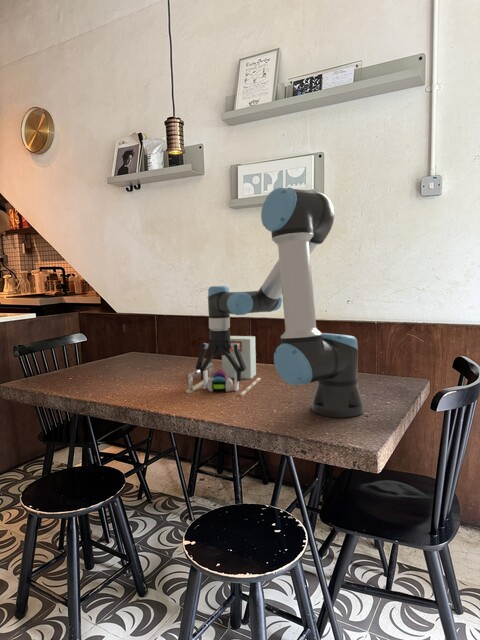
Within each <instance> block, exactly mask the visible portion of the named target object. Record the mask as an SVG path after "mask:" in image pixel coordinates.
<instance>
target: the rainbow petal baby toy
mask: <svg viewBox="0 0 480 640" xmlns="http://www.w3.org/2000/svg"><path fill="white" fill-rule="evenodd" d="M233 384H234V383H233V380H232V378H227V376H226V373H225V372H224V371H222V369H218V370H216V371H215V373H213V378H212V379H211V380H210V381H209V382H208V384H207V390H208V391H209V392H211V393H213V392H214V389H215V390H223V389H225V392H226V393H227V392H230V391H231V390H232V387H233Z"/></svg>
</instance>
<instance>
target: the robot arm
mask: <svg viewBox="0 0 480 640" xmlns="http://www.w3.org/2000/svg"><path fill="white" fill-rule="evenodd" d="M260 218H261V219H260V220H261V224H262V226H263V227H264V229H266V230H267V231H269V232H270V233H271V241H272V242H274V243H275V244H276V246H277V249H278V260H277V261H276V263H275V265H274V266H273V268H272V269H271V270H270V272H269V274H268V275H267V277H266V279H264V282H263V284H262V285H261V286H260V288H259V289H258V290H250V291H230V288H229V286H227V285H214V286H209V287H208V289H207V290H208V291H207V303H208V304H207V306H208V307H207V308H208V329H209V331H208V334H209V335H208V336H209V338H208V339H209V342H208V343H206V342H203V343H201V345H200V346H201V347H200V352H199V355H198V358H197V361H196V365H195V370H198V369H199V370H200V371H201V373H200V379H201V381H203V390H206V389H207V390H208V388H207V384H208V383H209V382H208V377H209V369H206V368H207V366H208V364H210V363H211V361H212V359H213V358H214V356H222V355H223V356H224V355H225V356H226V357H227V358H228V360H229V361H230V363H231V364H232V366H233V367H234V369H235V370H236V372H235V373H234V378H233V379H234V392H238V391H239V390H240V382H241V381H242V378H241V372H242V371H244V370H246V366H245V363H244V361H243V358H242V355H241V353H240V350H239V344H238V343H237V344H231V342H230V336H231V330H230V328H231V317H230V316H231V315H235V316H245V315H247V314H254V313H256V314H257V313H271V312H275V311H278V310H279V309H281V307H282V306H283V307H282V308H283V316H284V327H285V328H284V329H285V331H284V332H283V334H281V335H280V343H281V344H280V345H278V346H277V347H276V349H275V351H274V353H273V364H274V367H275V370H276V372H277V374H278V376H279V377H280V378H281V379H282V381H284V382H285V383H287V384H289V385H292V386H301V385H303V386H305V385H308V384H310V383H315V382H317V386H316V389H315V391H314V396H313V399H312V401H311V410H312V412H314V413H315V414H318V415H320V416H325V417H331V418H351V417H357V416H360V415H362V414H363V413H364V407H365V406H364V401H363V398H362V395H361V392H360V389H359V385H358V384H359V383H358V377H359V376H358V373H359V372H358V367H359V366H358V363H359V362H358V360H359V357H358V356H359V354H358V353H359V347H358V339H357V338H356V337H355V336H353V335H349V334H338V333H327V332H321V331H320V330H319V329H318V328H317V319H316V309H315V298H314V286H313V285H314V284H313V276H312V275H313V273H312V266H311V265H312V263H311V254H312V253H313V251H314V249H315V248H316V247H317V245H321V244H323V243H324V241H325V240H326V238H327V237H328V235H329V233H331V230H332V228H333V225H334V220H335V211H334V205H333V204H332V201H331V199H330V198H329V197H327V196H326V194H324V193H322V192H320V191H314V190H312V191H311V190H305V189H296V188H292V187H278V188H274V189H273V190H272V191H270V193H268V195H267V196H266V198H265V199H264V201H263V203H262V208H261V210H260ZM282 304H283V305H282ZM231 347H232V348H233V350H234V352H235V355H236V358H237V360H238V363H239V365H240V366H239V365H238V363H237V362H236V360H235V359H234V357H233V356H232V353H231V352H230V348H231ZM208 349H210V352H209V354H208V356H207V357H206V353H207V350H208ZM205 357H206V359H205ZM204 359H205V361H204ZM205 369H206V370H205Z"/></svg>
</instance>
